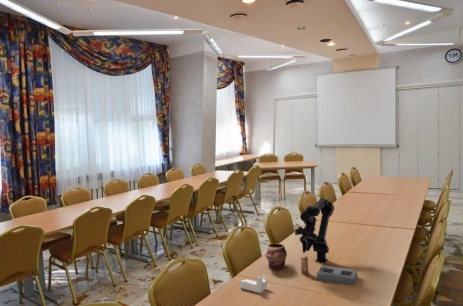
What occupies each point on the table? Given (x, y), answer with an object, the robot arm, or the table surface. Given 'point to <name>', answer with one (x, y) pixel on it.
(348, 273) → the hole board
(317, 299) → the table surface
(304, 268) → the pin
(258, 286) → the bracket
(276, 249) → the decorative planter
